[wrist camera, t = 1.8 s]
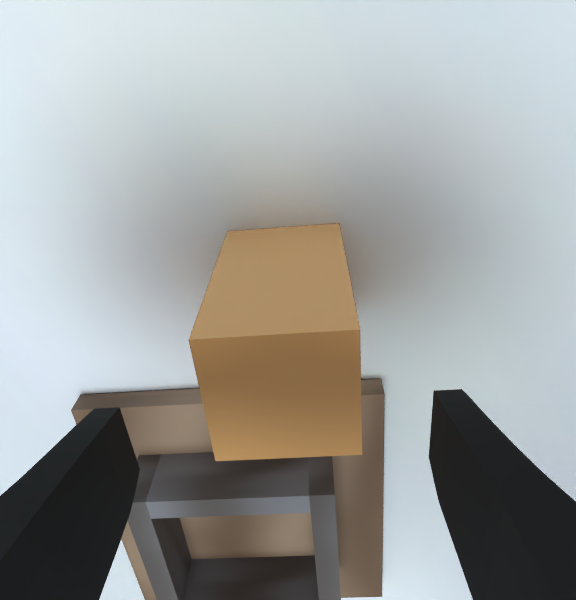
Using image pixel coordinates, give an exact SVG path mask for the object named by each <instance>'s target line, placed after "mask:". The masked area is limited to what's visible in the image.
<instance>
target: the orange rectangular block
mask: <svg viewBox="0 0 576 600" xmlns="http://www.w3.org/2000/svg"><path fill="white" fill-rule="evenodd" d="M189 343H190V348H191V352H192V357H193V361H194V366H195V371H196V375H197V380H198V384H199V389H200V393H201V398H202V403H203V407H204V412H205V416H206V421H207V425H208V430H209V435H210V439H211V444H212V448H213V453H214V457H215V461H233V460H255V459H278V458H301V457H324V456H347V455H362V416H361V357H360V327H359V322H358V317H357V311H356V306H355V301H354V296H353V291H352V286H351V281H350V276H349V270H348V265H347V260H346V255H345V250H344V245H343V240H342V235H341V229H340V224H339V223H333V224H320V225H306V226H292V227H278V228H264V229H251V230H237V231H227V234H226V237H225V240H224V242H223V245H222V248H221V251H220V254H219V256H218V259H217V262H216V265H215V268H214V270H213V273H212V276H211V279H210V282H209V284H208V287H207V290H206V293H205V296H204V298H203V301H202V304H201V307H200V310H199V312H198V315H197V318H196V321H195V323H194V326H193V329H192V332H191V335H190V337H189Z"/></svg>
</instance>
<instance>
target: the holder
mask: <svg viewBox="0 0 576 600" xmlns="http://www.w3.org/2000/svg"><path fill="white" fill-rule="evenodd" d="M115 407H120V410H121V413H122V416H123V419H124V422H125V425H126V428H127V431H128V434H129V437H130V440H131V443H132V446H133V449H134V453H135V456H136V459H137V462H138V465H139V468H140V472H139V477H138V482H137V486H136V491H135V496H134V500H133V504H132V508H131V512H130V515H129V518H128V521H127V524H126V526H125V529H124V532H123V535H122V538H121V539H122V542H123V544H124V547H125V550H126V552H127V555H128V557H129V560H130V562H131V565H132V568H133V570H134V573H135V575H136V578H137V580H138V583H139V585H140V588H141V591H142V593H143V596H144V598H145V600H341V598H347V597H382V558H383V476H384V390H383V386H382V381H381V379H368V380H361V416H362V455H347V456H324V457H301V458H278V459H255V460H233V461H215V457H214V453H213V448H212V444H211V439H210V435H209V430H208V425H207V421H206V416H205V412H204V407H203V403H202V398H201V393H200V389H199V388H198V389H179V390H160V391H141V392H122V393H103V394H84V395H80V396H79V398H78V400H77V401H76V403H75V405H74V406H73V408H72V410H71V411H72V414H73V416H74V419H75V421H76V424H78V423H79V422H80V421H81V420H82V419H83V418H84V417H85V416H87V415H88V414H89V413H90V412H91V411H92V410H93V409H96V408H115Z"/></svg>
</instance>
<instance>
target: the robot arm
mask: <svg viewBox="0 0 576 600" xmlns="http://www.w3.org/2000/svg"><path fill="white" fill-rule="evenodd" d="M429 460H430V464H431V469H432V473H433V478H434V483H435V487H436V491H437V495H438V500H439V503H440V506H441V509H442V512H443V515H444V518H445V521H446V523H447V526H448V529H449V532H450V535H451V538H452V541H453V544H454V547H455V549H456V552H457V555H458V558H459V561H460V564H461V567H462V569H463V572H464V575H465V578H466V581H467V584H468V587H469V590H470V592H471V595H472V598H473V600H576V501H574V500H573V499H572V498H571V497H570V496H569V495H567V494H566V493H565V492H564V491H563V490H562V489H561V488H560V487H558V486H557V485H556V484H555V483H554V482H553V481H552V480H551V479H549V478H548V477H547V476H546V475H545V474H544V473H543V472H542V471H541V470H540V469H539V468H538V467H537V466H535V465H534V464H533V463H532V462H531V461H530V460H529V459H528V458H527V457H526V456H525V455H524V454H523V453H522V452H521V451H520V450H519V449H518V448H517V447H516V446H515V445H514V444H513V443H512V442H511V441H510V440H509V439H508V438H507V437H506V436H505V435H504V434H503V433H502V432H501V431H500V430H499V428H498V427H497V426H496V425H495V424H494V423H493V422H492V421H491V420H490V419H489V418H488V417H487V416H486V415H485V414H484V412H483V411H482V410H481V409H480V408H479V407H478V406H477V405H476V404H475V403H474V401H473V400H472V399H471V398H470V397H469V396H468V395H467V394H466V393H465V392H464V391H463V390H462V389H459V390H439V391H434V395H433V408H432V422H431V435H430V448H429ZM139 472H140V468H139V465H138V462H137V459H136V456H135V453H134V449H133V446H132V443H131V440H130V437H129V434H128V431H127V428H126V425H125V422H124V419H123V416H122V413H121V410H120V407H115V408H96V409H93V410H92V411H91V412H90V413H89V414H88V415H87V416H85V417H84V418H83V419H82V420H81V421H80V422H79V423H78V424H77V425H76V426H75V427H74V428H73V429H72V430H71V431H70V432H69V433H68V434H67V435H66V436H65V437H64V438H62V439H61V440H60V441H59V442H58V443H57V444H56V445H55V446H54V447H53V448H52V449H51V450H50V451H49V452H48V453H47V454H46V455H45V456H44V457H43V458H42V459H40V460H39V461H38V462H37V463H36V464H35V465H34V466H33V467H32V468H31V469H30V470H29V471H28V472H27V473H26V474H25V475H24V476H22V477H21V478H20V479H19V480H18V481H17V482H16V483H15V484H13V485H12V486H11V487H10V488H9V489H8V490H7V491H5V492H4V493H3V494H2V495H1V496H0V600H99V598H100V595H101V593H102V590H103V587H104V584H105V582H106V579H107V576H108V573H109V571H110V568H111V565H112V562H113V560H114V557H115V554H116V552H117V549H118V546H119V543H120V540H121V538H122V535H123V532H124V529H125V526H126V524H127V521H128V518H129V515H130V512H131V508H132V504H133V500H134V496H135V491H136V486H137V482H138V477H139Z"/></svg>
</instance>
